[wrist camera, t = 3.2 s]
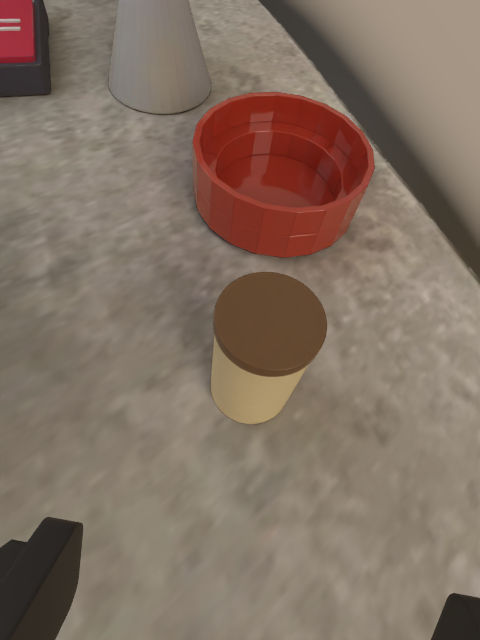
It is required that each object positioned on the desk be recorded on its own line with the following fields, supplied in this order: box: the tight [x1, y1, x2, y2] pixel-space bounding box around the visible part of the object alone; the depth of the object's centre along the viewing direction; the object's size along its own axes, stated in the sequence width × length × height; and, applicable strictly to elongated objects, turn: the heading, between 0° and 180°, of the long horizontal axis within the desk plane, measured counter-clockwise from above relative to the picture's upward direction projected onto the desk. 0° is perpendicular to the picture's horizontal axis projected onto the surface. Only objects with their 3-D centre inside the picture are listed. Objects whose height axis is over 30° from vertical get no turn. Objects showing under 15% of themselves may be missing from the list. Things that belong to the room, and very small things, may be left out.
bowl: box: [193, 92, 375, 258], centre depth 33 cm, size 14×14×6 cm
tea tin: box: [211, 272, 327, 424], centre depth 23 cm, size 5×5×9 cm
